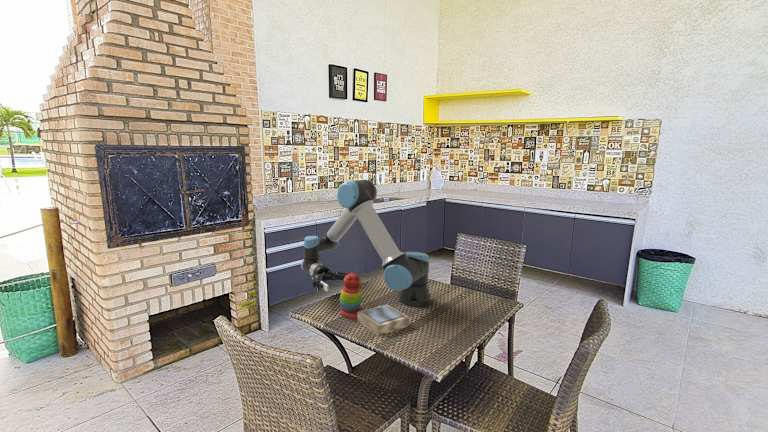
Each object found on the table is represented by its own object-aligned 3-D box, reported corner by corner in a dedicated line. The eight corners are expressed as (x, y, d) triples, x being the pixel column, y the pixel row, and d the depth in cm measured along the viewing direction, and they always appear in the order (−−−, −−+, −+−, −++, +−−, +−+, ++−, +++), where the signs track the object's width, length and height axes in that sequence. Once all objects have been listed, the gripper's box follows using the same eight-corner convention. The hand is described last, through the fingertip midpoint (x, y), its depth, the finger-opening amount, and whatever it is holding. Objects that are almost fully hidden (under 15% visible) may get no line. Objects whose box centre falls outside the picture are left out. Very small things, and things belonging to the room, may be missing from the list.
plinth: (386, 312, 165) (387, 303, 165) (408, 326, 154) (409, 316, 153) (357, 320, 157) (357, 310, 156) (378, 335, 145) (378, 325, 144)
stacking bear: (359, 320, 157) (360, 279, 154) (336, 317, 159) (336, 276, 156) (366, 310, 168) (367, 271, 165) (343, 307, 170) (344, 269, 167)
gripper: (342, 275, 193) (365, 288, 176) (295, 284, 179) (315, 299, 162) (342, 261, 192) (365, 273, 175) (295, 268, 178) (315, 282, 161)
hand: (341, 285), depth 168 cm, fingers open, 13 cm apart
